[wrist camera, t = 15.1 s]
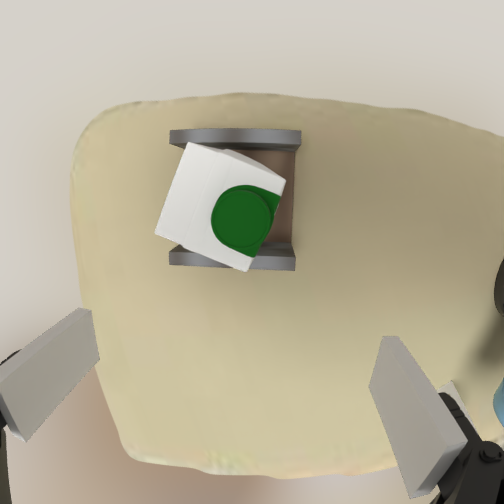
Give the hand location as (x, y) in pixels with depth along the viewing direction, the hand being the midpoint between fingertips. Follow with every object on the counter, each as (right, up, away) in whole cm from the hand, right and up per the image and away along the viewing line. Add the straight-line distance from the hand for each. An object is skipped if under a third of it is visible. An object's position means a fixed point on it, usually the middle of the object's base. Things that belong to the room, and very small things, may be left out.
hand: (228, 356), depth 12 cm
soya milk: (-1, +12, +27) cm, 30 cm away
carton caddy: (-1, +12, +28) cm, 31 cm away
